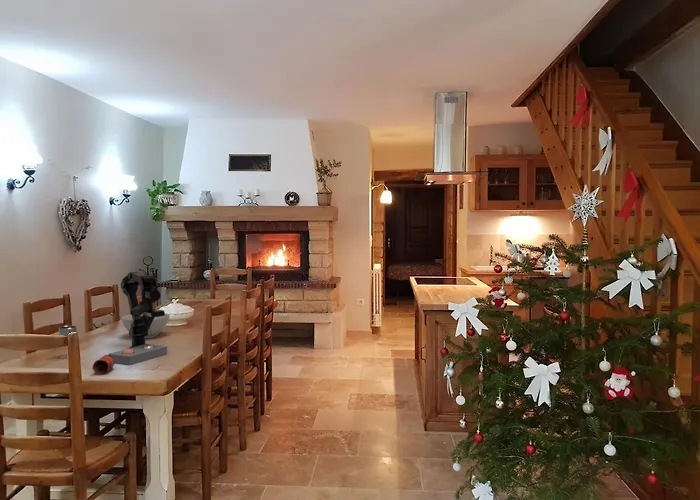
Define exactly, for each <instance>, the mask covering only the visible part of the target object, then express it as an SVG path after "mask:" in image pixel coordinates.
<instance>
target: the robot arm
mask: <svg viewBox="0 0 700 500" xmlns="http://www.w3.org/2000/svg"><path fill="white" fill-rule="evenodd" d="M139 287H140V292H141V293H140V294H141V295H140V297H141V300H140V301H139V299H138V295H137V292H138V289H139ZM158 287H159V284H158V282H157V280H156V277H155V275H154V274H142V273H139V272H138V271H130V272H128V273H127V275H126V276H124V277H123V278H122V279H121V282H120V289H121V290H122V293H123V294H124V295H125V296H126V298H127V301H128V305H129V310H130V311H129V312H130V314H129V315H132V319H133V321H132V323H131V328H130V330H129V331H128V337H129V338H131V346H129V348H133V347H137V346H140V345H144V344H146V338H145V336H148V330H149V328H150V326H151V323H152V321H153V320H154V318H155V317H160V316H165V312H166V311H165V310H164V309H156V307H155V308H154V304H155V303H156V302H157V301H159V300H160V299H161V294H162V293H160V291H159V290H158Z"/></svg>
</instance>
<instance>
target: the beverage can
mask: <svg viewBox="0 0 700 500" xmlns="http://www.w3.org/2000/svg"><path fill="white" fill-rule="evenodd" d="M115 364H116V363H115V359H114V357H113V356H112V355H109V354H105V355H102V356H101V357H100V358H99V359H97V360H95V361H94V362H93V364H92V368H91V370H92V371H93V372H94V373H95V374H97V375H99V376H100V375H102V374H103V375H106V374H107V372H109V371H110V370H111V369H112V368H113V367H115ZM103 372H104V373H103Z"/></svg>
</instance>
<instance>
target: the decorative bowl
mask: <svg viewBox="0 0 700 500" xmlns="http://www.w3.org/2000/svg"><path fill="white" fill-rule="evenodd" d="M170 316H171V315H170V314H168V313H165V316H160V317H155V318H154V320H153V321H152V323H151V326H150V328H149V330H148V336H145V339H151V338H152V339H153V338H156V337H157V336H158V334H159V333H161V332H162V331H163V330H164V329H165V328H166V326H167V324H168V323H169V320H170ZM132 321H133V319H132V315H130V314H126V315H123V316H122V317H121V322H122V324H123V327H124V328H125V329H126V331H127V332H129V330H130V328H131V323H132Z"/></svg>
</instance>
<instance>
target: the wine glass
mask: <svg viewBox="0 0 700 500" xmlns="http://www.w3.org/2000/svg"><path fill="white" fill-rule="evenodd" d="M77 330H78V327H77V325H63V326H59V327H58V334H59V336H60V335H67V334H69V333H71V332H76V334H77V333H78V332H77ZM60 359H68V358H67V354H65V355H62V356H60Z"/></svg>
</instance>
